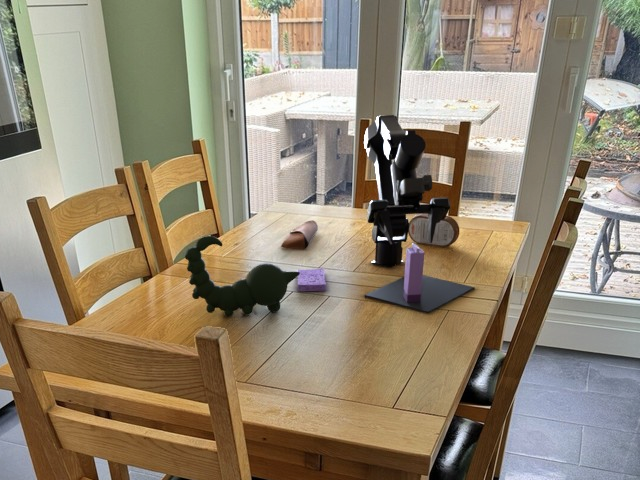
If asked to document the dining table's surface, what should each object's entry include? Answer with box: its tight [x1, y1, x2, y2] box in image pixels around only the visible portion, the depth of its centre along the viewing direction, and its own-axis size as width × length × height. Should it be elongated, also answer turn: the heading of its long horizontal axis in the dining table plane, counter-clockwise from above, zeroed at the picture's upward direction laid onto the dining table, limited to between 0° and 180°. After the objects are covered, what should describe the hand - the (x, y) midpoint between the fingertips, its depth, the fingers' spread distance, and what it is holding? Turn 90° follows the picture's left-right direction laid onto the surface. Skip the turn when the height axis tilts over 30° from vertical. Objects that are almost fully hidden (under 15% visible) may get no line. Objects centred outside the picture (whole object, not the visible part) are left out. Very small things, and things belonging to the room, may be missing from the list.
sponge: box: [297, 268, 327, 292], centre depth 182 cm, size 7×13×2 cm, turn 179°
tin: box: [408, 213, 460, 248], centre depth 205 cm, size 15×3×8 cm, turn 58°
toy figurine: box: [184, 235, 300, 318], centre depth 162 cm, size 9×19×25 cm
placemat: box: [364, 274, 475, 315], centre depth 174 cm, size 18×21×1 cm
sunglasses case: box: [280, 219, 319, 251], centre depth 213 cm, size 18×7×7 cm
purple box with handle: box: [403, 242, 426, 302], centre depth 166 cm, size 5×3×12 cm
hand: (411, 243), depth 167 cm, fingers open, 9 cm apart
